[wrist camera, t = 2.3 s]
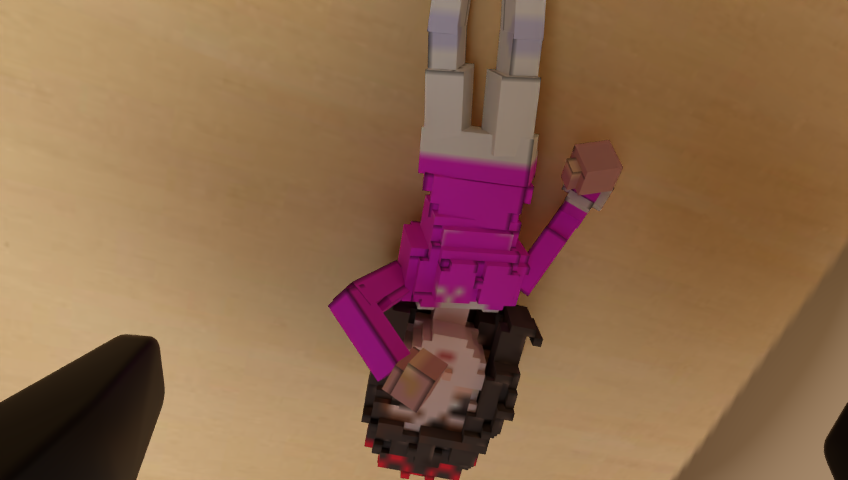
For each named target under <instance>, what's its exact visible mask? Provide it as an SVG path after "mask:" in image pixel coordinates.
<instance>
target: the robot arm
mask: <svg viewBox="0 0 848 480" xmlns="http://www.w3.org/2000/svg"><path fill="white" fill-rule="evenodd" d="M164 393H165V387H164V378H163V370H162V362H161V354H160V347H159V344H158V341H157V340H156V339H155V338H153V337H151V336H140V335H128V334H126V335H120V336H117V337H115V338H113V339H112V340H110V341H108V342H106V343H105V344H103V345H101V346H99V347H98V348H96V349H94V350H92V351H90V352H89V353H87V354H85V355H83V356H82V357H80V358H78V359H76V360H75V361H73V362H71V363H69V364H67V365H66V366H64V367H62V368H60V369H59V370H57V371H55V372H53V373H52V374H50V375H48V376H46V377H44V378H43V379H41V380H39V381H37V382H36V383H34V384H32V385H30V386H28V387H27V388H25V389H23V390H21V391H20V392H18V393H16V394H14V395H13V396H11V397H9V398H7V399H5V400H4V401H2V402H0V480H136V478H137V476H138V473H139V470H140V467H141V464H142V462H143V459H144V456H145V453H146V450H147V447H148V445H149V442H150V439H151V436H152V433H153V431H154V428H155V425H156V422H157V419H158V417H159V414H160V411H161V408H162V405H163V400H164ZM824 454H825V458H826V461H827V463H828V466H829V468H830V470H831V473H832V475H833V477H834V480H848V403H847V404H846V406H845V407H844V409H843V411H842V412H841V414H840V416H839V417H838V419H837V421H836V422H835V424H834V426H833V427H832V429H831V431H830V433H829V434H828V436H827V438H826V440H825V443H824Z"/></svg>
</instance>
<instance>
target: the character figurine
mask: <svg viewBox="0 0 848 480" xmlns="http://www.w3.org/2000/svg"><path fill="white" fill-rule="evenodd" d="M470 2H471V0H432V1H431V8H430V15H429V22H428V30H427V31H428V32H429V36H428V68H427V69H426V70H425V119H424V126H423V127H422V129H421V143H420V156H419V169H418V173H423V174H424V179H423V190H424V191H430V195H426V196H425V201H424V207H423V212H422V218H421V222H417V221H411V223H410V224H404V226H403V232H402V238H401V244H400V250H399V256H398V261H397V260H396V261H394V262H392V263H390V264H387V265H385V266H383V267H381V268H379V269H377V270H375V271H373V272H371V273H369V274H367V275H365V276H363V277H361V278H359V279H357V280H355V281H353V282H352V283H351V284H349V285H348V286H347V287H346V288H345V289H344V290H343V291H342V292H341V293H340V294H338V295H337V296H336V297H335V298H334V299H333V300H334V301H333V302H331V303H330V304H329V305H328V307H329V308H330V310H331V311H332V313H333V314H334V316H335V318H336V319H337V321H338V322H339V324H340V325H341V327H342V328H343V330H344V331H345V333H346V334H347V336H348V337H349V339H350V340H351V342H352V343H353V345H354V346H355V348H356V349H357V351H358V352H359V354H360V355H361V357H362V358H363V360H364V361H365V363H366V365H367V366H368V368H369V369H370V375H369V380H368V385H367V391H366V397H365V403H364V409H363V415H362V421H361V422H366V423H369V424H368V429H367V435H366V440H365V445H364V446H366V447H371V448H372V453H375V454H379V455H378V461H377V463H378V467H383V468H389V469H395V470H400V471H401V478H405V479H409V476H410V474H413V475H419V476H425V480H434V477H440V478H445V479H451V480H459V478H460V475H461V471H462V469H465V470H468V468H470V469H471V467H473V466H475V465H476V462H477V458H478V455H479V453H480V454H486V451H487V447H488V443H489V440H490V438H494V436H497V434H500V432H501V429H502V425H503V422H504V420H509V421H513V418H514V414H515V413H514V409H513V408H514V405H515V402H516V398H517V395H518V393H517V390H516V389H517V385H518V382H519V379H520V375H521V374H520V371H519V368H518V364H519V361H520V357H521V354H522V350H523V347H524V343H525V340H526V336H528V337H529V338H530V340H531V343H532V345H533V346H538V347H541V344H542V341H543V338H542V336H541V334H540V332H539V329H538V327H537V325H536V323H535V320H534V319H533V318H531V315H530V313H529V311H528V309H527V307H525V306H520V305H516V303H517V300H518V296H519V293H520V291H521V292H523V293H524V294H526V295H527V296H528V295H529V294H530V293H531V291H532V290H533V288H534V287H535V285H536V284H537V283H538V281H539V280H540V278H541V277H542V276H543V274H544V273H545V271H546V270H547V269H548V267H549V266H550V264H551V263H552V262H553V260H554V259H555V257H556V256H557V254H558V253H559V252H560V250H561V249H562V247H563V246H564V245H565V243H566V242H567V240H568V239H569V238H570V236H571V235H572V233H573V232H574V230H575V229H577V228H578V226H579V225H580V224H581V222H582V221H583V219H584V218H585V216H586V215H587V213H588V212H589V211H590V209H591V208H592V207H593V208H595V209H596V210H598V211H600V210H601V209H602V207H603V205H604V204H605V202H606V201H607V199H608V197H609V196H610V194H611V193H612V191H613V189H614V185H615V183H616V181H617V179H618V177H619V175H620V173H621V170H622V168H623V166H622V164H621V162H620V160H619V158H618V156H617V154H616V152H615V150H614V148H613V146H612V144H611V142H610V140H606V141H598V142H590V143H583V144H575V146H574V148H573V151H572V154H571V157H570V158H568V159H567V160H566V163H565V166H564V169H563V172H562V175H561V178H562V180H563V182H564V185H563V187H562V190H564V191H565V192H567V193H569V194H568V195H567V197H566V198H565V201H564V203H563V204H562V206H561V207H560V209H559V210H558V211H557V213H556V214H555V216H554V217H553V218H552V220H551V221H550V223H549V224H548V225H547V226H546V227H545V229H544V230H543V232H542V233H541V235H540V236H539V237H538V239H537V240H536V242H535V243H534V244H533V246H532V247H531V249H530V250H529V251H528V253H527V251H526V250H525V248H524V247H523V245H522V244H521V242H520V241H519V239H518V236H519V232H520V228H521V224H522V223H521V222H520V220H519V219H518V218H519V214H521V212H522V207H523V203H525V204H531V199H532V194H533V189H534V186H533V184H532V183H531V182H532V180H533V178H534V177H535V172H536V164H537V157H538V150H537V146H538V139H539V134H534V129H535V121H536V113H537V106H538V98H539V90H540V82H541V78H540V77H538V71H539V63H540V55H541V48H542V40H543V39H544V23H545V7H546V0H502V7H501V27H500V35H499V45H498V55H497V65H496V69H487V75H486V85H485V96H484V107H483V117H482V127H477V126H471V118H472V99H473V80H474V64H472V63H465V61H466V39H467V21H468V15H469V8H470Z"/></svg>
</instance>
